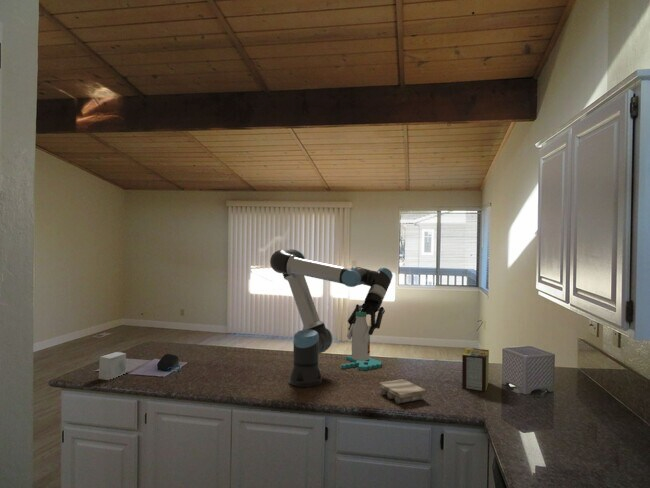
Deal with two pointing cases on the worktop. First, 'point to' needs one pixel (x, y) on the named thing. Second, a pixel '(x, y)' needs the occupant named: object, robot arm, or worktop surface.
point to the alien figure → (362, 364)
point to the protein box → (475, 369)
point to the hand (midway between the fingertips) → (356, 339)
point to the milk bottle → (360, 338)
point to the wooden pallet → (402, 391)
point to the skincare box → (112, 365)
